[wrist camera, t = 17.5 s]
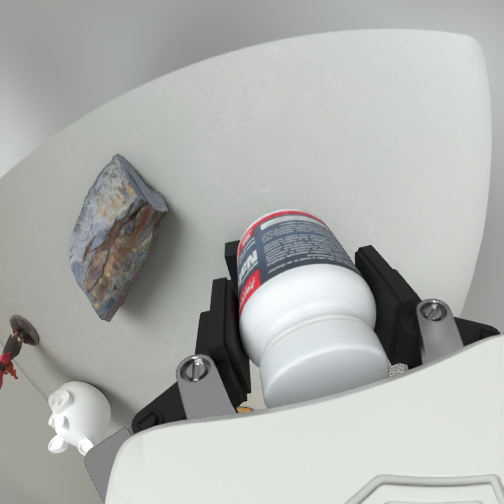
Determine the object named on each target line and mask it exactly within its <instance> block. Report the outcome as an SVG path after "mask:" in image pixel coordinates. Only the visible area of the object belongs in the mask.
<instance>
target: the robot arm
mask: <svg viewBox="0 0 504 504" xmlns="http://www.w3.org/2000/svg"><path fill="white" fill-rule="evenodd" d="M355 266H356V267H357V269H358V270H359V272H360V273H361V275H362V276H363V278H364V279H365V281H366V282H367V284H368V286H369V288H370V290H371V292H372V294H373V296H374V299H375V304H376V323H375V328H374V332H375V333H376V335H377V337H378V339H379V341H380V343H381V345H382V347H383V349H384V351H385V353H386V356H387V358H388V359H389V361H390V363H391V365H395V364H398V363H402V364H405V365H404V368H405V372H403V373H400V374H397V375H394V376H392V377H389V378H386V379H383V380H380V381H377V382H374V383H371V384H368V385H364V386H361V387H358V388H354V389H351V390H348V391H344V392H340V393H337V394H333V395H329V396H325V397H321V398H317V399H313V400H309V401H304V402H300V403H295V404H290V405H285V406H280V407H275V408H269V409H263V410H257V411H251V412H244V413H239V411H238V409H237V407H238V406H239V405H240V404H241V403H242V402H245V401H247V394H248V393H251V379H250V365H249V357H248V355H247V354H246V352H245V350H244V348H243V345H242V342H241V338H240V332H239V302H238V298H237V295H236V292H235V289H234V285H233V282H232V280H227V278H226V277H224V278H220V279H215V280H213V285H212V294H211V304H210V311H206V312H202V313H201V314H200V319H199V327H198V334H197V342H196V350H195V355H192V356H189V357H187V358H185V359H184V360H183V361H182V362H181V363H180V364H179V365H178V367H177V370H176V378H177V382H176V383H175V384H173V385H172V386H171V387H170V388H168V389H167V390H166V391H165V392H163V393H162V394H161V395H160V396H158V397H157V398H156V399H155V400H153V401H152V402H151V403H150V404H148V405H147V406H146V407H145V408H143V409H142V410H141V411H139V412H138V413H137V414H136V415H135V417H134V419H133V421H132V426H131V427H130V428H128V429H127V428H126V427H124V428H122V429H121V430H119V431H118V432H116V433H115V434H113V435H112V436H110V437H108V438H107V439H105V440H104V441H102V442H100V443H99V444H97V445H96V446H94V447H92V448H91V449H90V450H89V451H88V452H87V453H86V455H85V460H84V462H85V466H86V468H87V471H88V473H89V474H90V477H91V479H92V481H93V483H94V485H95V487H96V489H97V491H98V493H99V495H100V497H101V498H102V500H103V502H104V504H504V333H503V334H500V332H499V331H498V330H497V329H495V328H494V327H492V326H489V325H485V324H481V323H477V322H473V321H469V320H465V319H461V318H457V317H453V315H452V312H451V310H450V308H449V306H448V305H447V304H446V303H445V302H443V301H441V300H437V299H426V300H423V301H422V300H421V299H420V298H419V296H418V295H417V294H416V293H415V292H414V290H413V289H412V288H411V287H410V286H409V284H408V283H407V282H406V281H405V280H404V278H403V277H402V276H401V275H400V274H399V273H398V271H397V270H395V269H392V268H391V267H390V265H389V264H388V263H387V262H386V261H385V260H384V259H383V257H382V256H381V255H380V254H379V253H378V252H377V251H376V250H375V249H374V247H373V246H372V245H369V246H364V247H360V248H359V249H358V251H357V252H355Z"/></svg>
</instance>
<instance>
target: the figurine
mask: <svg viewBox="0 0 504 504" xmlns="http://www.w3.org/2000/svg"><path fill="white" fill-rule="evenodd" d="M10 324H11V327H12V329H13V333H14V335H13V336H12V338H11V335H10V337H9V338H8V340H7V343H6V345H5V348H4V350H3V354H2V356H1V357H0V388H1V386H2V383H3V381H2V379H3V374H6V375H7V374H8V373H9V372H10V374H11V375H12V376H14V378H15V379H18V377H17V376H16V370H14V369H13V363H12V362H11V360H12V359H13V358H14V357H16V356H17V355H19V352H20V349H21V347H22V343H23V342H24V343H25V344H26V343H27V344H29V345H36V344H38V342H39V337H38V334H37V332H36V331H35V329H34V328H33V326H32V325H31V324H30V323H29V322H28V321H27V320H25V319H24V318H22V317H20V316H17V315H14V316H12V317H11V319H10ZM17 337H19V338H20V339H21V340H20V341H19V342H18V340H17Z"/></svg>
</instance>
